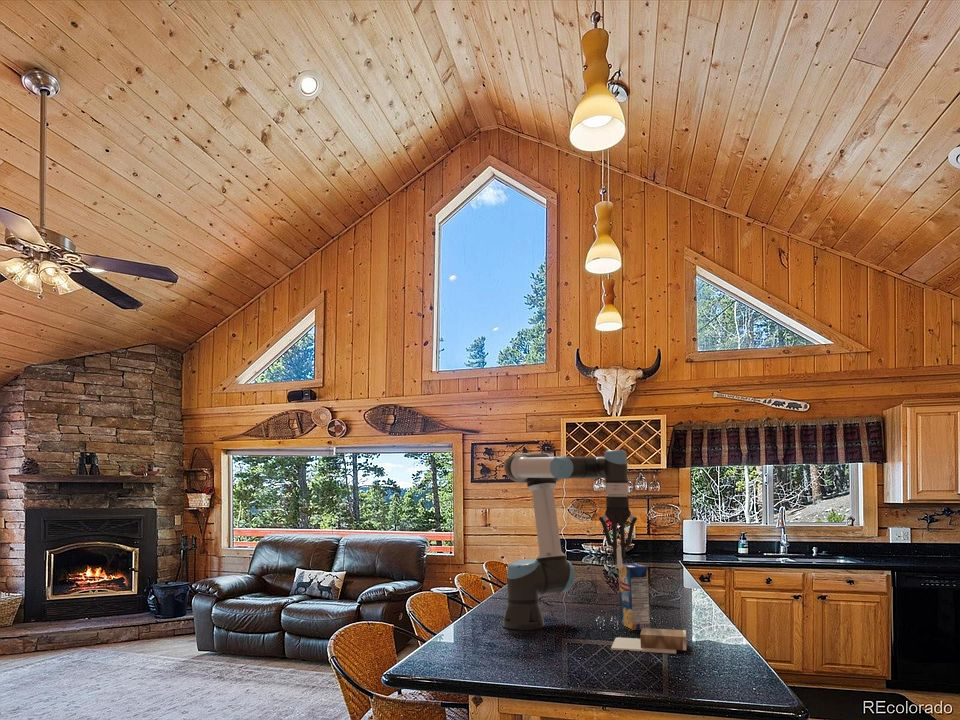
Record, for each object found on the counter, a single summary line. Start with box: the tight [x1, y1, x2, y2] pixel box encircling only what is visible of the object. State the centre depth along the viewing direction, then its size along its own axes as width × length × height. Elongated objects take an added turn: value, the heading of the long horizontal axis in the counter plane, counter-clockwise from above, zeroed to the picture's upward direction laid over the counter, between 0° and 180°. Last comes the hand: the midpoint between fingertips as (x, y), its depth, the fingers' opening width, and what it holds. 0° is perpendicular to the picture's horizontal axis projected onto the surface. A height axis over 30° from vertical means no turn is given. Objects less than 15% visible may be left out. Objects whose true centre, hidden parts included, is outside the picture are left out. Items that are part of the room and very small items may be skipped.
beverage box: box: [618, 562, 651, 631], centre depth 257 cm, size 7×11×22 cm, turn 11°
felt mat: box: [610, 637, 677, 655], centre depth 227 cm, size 20×15×1 cm
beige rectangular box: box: [639, 627, 688, 651], centre depth 226 cm, size 4×10×14 cm
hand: (619, 567), depth 233 cm, fingers closed
